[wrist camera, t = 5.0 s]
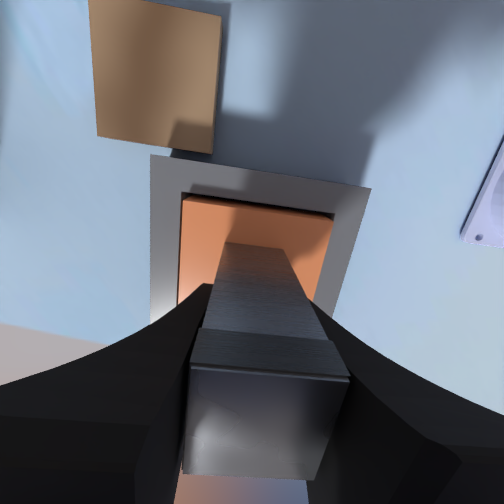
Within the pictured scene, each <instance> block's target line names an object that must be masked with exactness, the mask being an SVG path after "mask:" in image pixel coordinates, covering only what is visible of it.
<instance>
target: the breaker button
mask: <svg viewBox="0 0 504 504" xmlns="http://www.w3.org/2000/svg"><path fill="white" fill-rule="evenodd" d="M333 223H334V221H332V220H330V219H329V218H327V217H325V216H324V215H322V214H320V213H317V212H310V211H303V210H296V209H289V208H282V207H275V206H268V205H261V204H254V203H247V202H240V201H233V200H226V199H219V198H212V197H205V196H199V195H192V196H190V197H188V198H186V199H185V200H183V210H182V232H181V253H180V275H179V297H178V304H179V303H181V302H182V301H183V300H184V299H185V298H187V297H188V296H189V295H190V294H191V293H192V292H193V291H194V290H195V289H197V288H198V287H199V286H200V285H201V284H202V283H208V284H214V280H215V277H216V273H217V269H218V265H219V262H220V258H221V254H222V250H223V247H224V243H225V242H232V243H239V244H247V245H255V246H263V247H270V248H278V249H283V250H284V252H285V254H286V256H287V258H288V260H289V262H290V264H291V266H292V268H293V270H294V272H295V274H296V276H297V278H298V280H299V282H300V284H301V286H302V288H303V290H304V292H305V294H306V296H307V298H308V299H310V300H311V301H312V302H313V298H314V294H315V291H316V287H317V283H318V279H319V276H320V272H321V268H322V265H323V261H324V257H325V253H326V250H327V246H328V242H329V238H330V235H331V231H332V227H333Z"/></svg>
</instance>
